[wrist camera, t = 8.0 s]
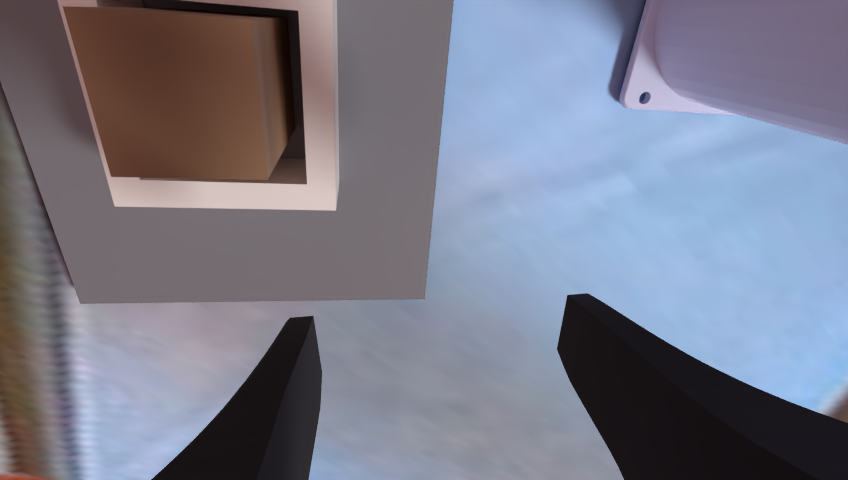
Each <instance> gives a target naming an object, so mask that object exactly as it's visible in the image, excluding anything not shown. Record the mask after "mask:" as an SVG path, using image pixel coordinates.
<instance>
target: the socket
mask: <svg viewBox="0 0 848 480" xmlns="http://www.w3.org/2000/svg"><path fill="white" fill-rule="evenodd" d="M453 1H454V0H0V82H1V85H2V87H3V90H4V93H5V96H6V98H7V101H8V104H9V107H10V110H11V112H12V115H13V118H14V121H15V123H16V126H17V129H18V132H19V135H20V137H21V140H22V143H23V146H24V148H25V151H26V154H27V157H28V160H29V162H30V165H31V168H32V171H33V173H34V176H35V179H36V182H37V185H38V187H39V190H40V193H41V196H42V198H43V201H44V204H45V207H46V210H47V212H48V215H49V218H50V221H51V223H52V226H53V229H54V232H55V235H56V237H57V240H58V243H59V246H60V248H61V251H62V254H63V257H64V260H65V262H66V265H67V268H68V271H69V273H70V276H71V279H72V282H73V285H74V287H75V290H76V293H77V296H78V298H79V301H80V304H94V303H167V302H240V301H313V300H387V299H425V289H426V279H427V268H428V258H429V248H430V237H431V227H432V217H433V207H434V196H435V186H436V176H437V166H438V155H439V145H440V135H441V125H442V114H443V104H444V94H445V83H446V73H447V63H448V53H449V42H450V32H451V22H452V12H453ZM63 6H71V7H134V8H174V9H188V10H201V11H214V12H228V13H241V14H254V15H268V16H281V17H288V28H289V43H290V57H291V71H292V86H293V100H294V114H295V130H294V132H293V134H292V136H291V138H290V140H289V141H288V143H287V145H286V147H285V149H284V151H283V153H282V154H281V156H280V158H279V160H278V162H277V164H276V165H275V167H274V169H273V171H272V173H271V175H270V177H269V178H268V180H242V179H191V178H139V177H111V175H110V171H109V168H108V164H107V161H106V157H105V154H104V150H103V147H102V143H101V140H100V136H99V133H98V129H97V126H96V122H95V119H94V115H93V112H92V108H91V105H90V101H89V97H88V94H87V90H86V87H85V83H84V80H83V76H82V73H81V69H80V66H79V62H78V59H77V55H76V52H75V48H74V45H73V41H72V38H71V34H70V31H69V27H68V24H67V20H66V17H65V13H64V10H63Z"/></svg>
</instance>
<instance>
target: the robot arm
mask: <svg viewBox="0 0 848 480" xmlns="http://www.w3.org/2000/svg"><path fill="white" fill-rule="evenodd" d="M644 92H645V98H644V100H643V101H641V102H639V97H640V96H641V94H642V93H644ZM619 100H620V104H621V105H622V106H623V107H626V108H629V109H641V110H658V111H674V112H691V113H707V114H724V115H740V116H745V117H749V118H753V119H756V120H760V121H764V122H767V123H771V124H775V125H778V126H782V127H786V128H789V129H793V130H797V131H800V132H804V133H808V134H811V135H815V136H819V137H822V138H826V139H830V140H833V141H837V142H841V143H844V144H848V0H646V4H645V7H644V11H643V15H642V18H641V22H640V25H639V29H638V32H637V36H636V40H635V43H634V47H633V50H632V54H631V57H630V61H629V65H628V68H627V72H626V75H625V79H624V82H623V86H622V89H621V93H620V99H619ZM557 350H558V353H559V355H560V358H561V361H562V363H563V366H564V368H565V370H566V373H567V375H568V377H569V380H570V382H571V384H572V385H573V387H574V389H575V391H576V393H577V394H578V396H579V398H580V400H581V401H582V403H583V405H584V407H585V408H586V410H587V412H588V414H589V415H590V417H591V419H592V421H593V422H594V424H595V426H596V427H597V429H598V431H599V433H600V434H601V436H602V438H603V440H604V441H605V443H606V445H607V447H608V448H609V450H610V452H611V454H612V456H613V457H614V459H615V461H616V463H617V465H618V467H619V469H620V471H621V473H622V476H623V478H624V480H848V423H846V422H843V421H840V420H837V419H835V418H832V417H829V416H826V415H823V414H820V413H817V412H815V411H812V410H809V409H807V408H804V407H801V406H799V405H796V404H794V403H791V402H788V401H786V400H784V399H781V398H779V397H776V396H774V395H772V394H769V393H767V392H764V391H762V390H760V389H757V388H755V387H753V386H750V385H748V384H746V383H744V382H742V381H739V380H737V379H735V378H733V377H731V376H729V375H727V374H725V373H723V372H721V371H719V370H717V369H715V368H713V367H711V366H709V365H707V364H705V363H703V362H701V361H699V360H697V359H695V358H694V357H692V356H690V355H688V354H686V353H685V352H683V351H681V350H679V349H678V348H676V347H674V346H672V345H670V344H669V343H667V342H665V341H664V340H662V339H660V338H659V337H657V336H655V335H654V334H652V333H651V332H649V331H647V330H646V329H644V328H642V327H641V326H639V325H638V324H636V323H635V322H633V321H631V320H630V319H628V318H627V317H625V316H624V315H622V314H620V313H619V312H617V311H616V310H614V309H613V308H611V307H609V306H608V305H606V304H605V303H603V302H601V301H600V300H598V299H597V298H595V297H593V296H591V295H589V294H588V293H587V294H575V295H567V300H566V306H565V311H564V316H563V321H562V326H561V331H560V337H559V342H558V347H557ZM321 382H322V369H321V363H320V356H319V350H318V343H317V337H316V330H315V324H314V318H313V316H307V317H295V318H290V319H289V320H288V321H287V322H286V323H285V325H284V326H283V328H282V330H281V331H280V333H279V334H278V336H277V337H276V339H275V340H274V342H273V343H272V345H271V346H270V348H269V349H268V351H267V352H266V354H265V355H264V357H263V358H262V359H261V361H260V362H259V363H258V365H257V366H256V368H255V369H254V370H253V372H252V373H251V374H250V376H249V377H248V378H247V380H246V381H245V382H244V383H243V385H242V386H241V387H240V388H239V390H238V391H237V392H236V393H235V394H234V396H233V397H232V398H231V399H230V401H229V402H228V403H227V404H226V405H225V407H224V408H223V409H222V410H221V411H220V412H219V413H218V415H217V416H216V417H215V418H214V419H213V420H212V421H211V422H210V423H209V424H208V425H207V426H206V428H205V429H204V430H203V431H202V432H201V433H200V434H199V435H198V436H197V437H196V438H195V439H194V440H193V441H192V442H191V443H190V444H189V445H188V446H187V447H186V448H185V449H184V450H183V451H182V452H181V453H180V454H179V455H178V456H176V457H175V458H174V459H173V460H172V461H171V462H170V463H169V464H168V465H167V466H166V467H165V468H164V469H163V470H161V471H160V472H159V473H158V474H157V475H156V476H155V477H154V478H153V479H151V480H308V479H309V473H310V467H311V461H312V455H313V449H314V443H315V437H316V431H317V424H318V418H319V412H320V402H321Z"/></svg>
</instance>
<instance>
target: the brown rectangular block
mask: <svg viewBox="0 0 848 480" xmlns="http://www.w3.org/2000/svg"><path fill="white" fill-rule="evenodd" d="M63 10H64V13H65V17H66V20H67V24H68V27H69V31H70V34H71V38H72V41H73V45H74V48H75V52H76V55H77V59H78V62H79V66H80V69H81V73H82V76H83V80H84V83H85V87H86V90H87V94H88V97H89V101H90V105H91V108H92V112H93V115H94V119H95V122H96V126H97V129H98V133H99V136H100V140H101V143H102V147H103V150H104V154H105V157H106V161H107V164H108V168H109V171H110V175H111V177H139V178H191V179H242V180H268V178H269V177H270V175H271V173H272V171H273V169H274V167H275V165H276V164H277V162H278V160H279V158H280V156H281V154H282V153H283V151H284V149H285V147H286V145H287V143H288V141H289V140H290V138H291V136H292V134H293V132H294V130H295V114H294V100H293V86H292V71H291V57H290V43H289V28H288V17H281V16H268V15H254V14H241V13H228V12H214V11H201V10H188V9H174V8H134V7H71V6H63Z"/></svg>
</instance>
